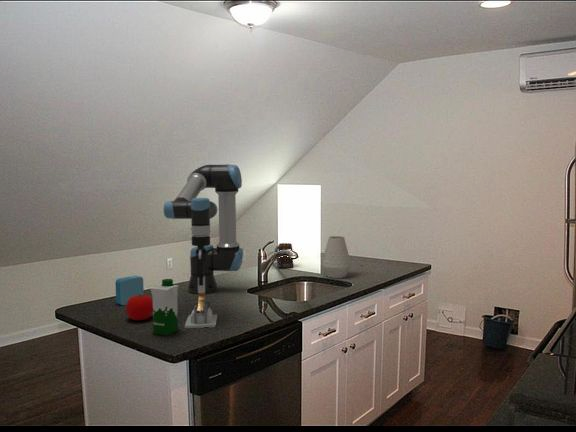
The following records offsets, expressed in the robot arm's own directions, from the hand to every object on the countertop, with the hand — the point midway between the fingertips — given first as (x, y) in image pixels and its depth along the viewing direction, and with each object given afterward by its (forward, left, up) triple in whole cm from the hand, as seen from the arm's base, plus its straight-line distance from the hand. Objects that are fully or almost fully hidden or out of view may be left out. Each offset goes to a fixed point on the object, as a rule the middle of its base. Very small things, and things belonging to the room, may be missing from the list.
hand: (201, 291), depth 203 cm
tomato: (-4, -26, -12) cm, 29 cm away
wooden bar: (+2, 0, -5) cm, 5 cm away
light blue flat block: (-30, -36, -12) cm, 48 cm away
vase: (-76, +71, -12) cm, 105 cm away
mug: (-103, +42, -12) cm, 112 cm away
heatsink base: (+3, 0, -12) cm, 12 cm away
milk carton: (+14, -13, -12) cm, 22 cm away
